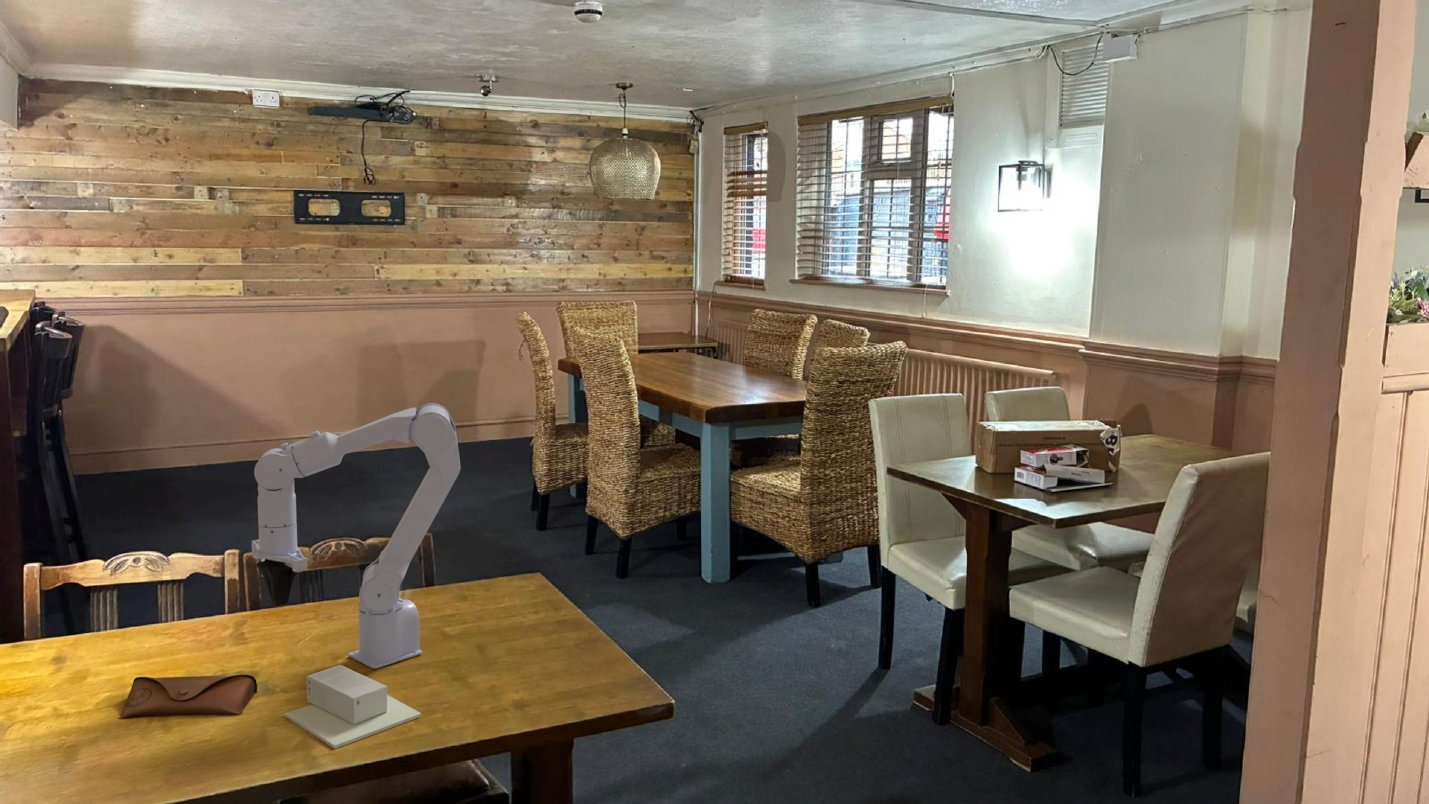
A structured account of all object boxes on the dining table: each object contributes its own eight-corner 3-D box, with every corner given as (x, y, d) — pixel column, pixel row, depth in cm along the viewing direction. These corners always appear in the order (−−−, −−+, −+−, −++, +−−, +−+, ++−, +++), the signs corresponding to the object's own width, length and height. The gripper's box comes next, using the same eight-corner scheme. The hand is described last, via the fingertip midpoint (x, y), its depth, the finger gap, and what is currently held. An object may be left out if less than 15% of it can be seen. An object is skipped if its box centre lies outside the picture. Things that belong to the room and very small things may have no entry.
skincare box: (306, 702, 159) (352, 726, 152) (305, 675, 158) (352, 698, 151) (341, 689, 164) (388, 712, 157) (341, 663, 163) (388, 685, 156)
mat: (370, 688, 166) (370, 685, 166) (421, 716, 157) (421, 713, 157) (285, 716, 155) (285, 713, 155) (334, 748, 146) (334, 745, 146)
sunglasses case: (112, 720, 152) (119, 673, 154) (128, 724, 158) (135, 679, 161) (244, 715, 155) (248, 669, 158) (255, 719, 162) (259, 675, 164)
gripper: (232, 518, 172) (235, 597, 174) (275, 537, 162) (278, 621, 164) (274, 511, 177) (276, 588, 179) (318, 528, 168) (320, 609, 170)
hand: (280, 603), depth 172 cm, fingers closed
